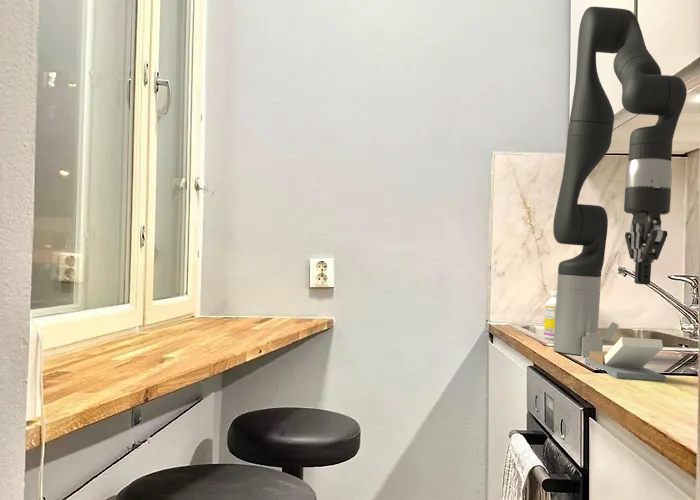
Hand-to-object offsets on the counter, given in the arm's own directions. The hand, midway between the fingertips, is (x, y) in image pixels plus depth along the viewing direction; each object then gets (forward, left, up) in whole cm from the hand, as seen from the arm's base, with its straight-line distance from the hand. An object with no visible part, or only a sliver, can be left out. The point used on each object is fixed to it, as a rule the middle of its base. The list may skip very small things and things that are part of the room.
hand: (642, 284), depth 122 cm
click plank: (-2, 0, -13) cm, 13 cm away
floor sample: (-7, 0, -17) cm, 18 cm away
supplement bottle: (-60, +3, -17) cm, 62 cm away
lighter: (-25, +2, -17) cm, 30 cm away
